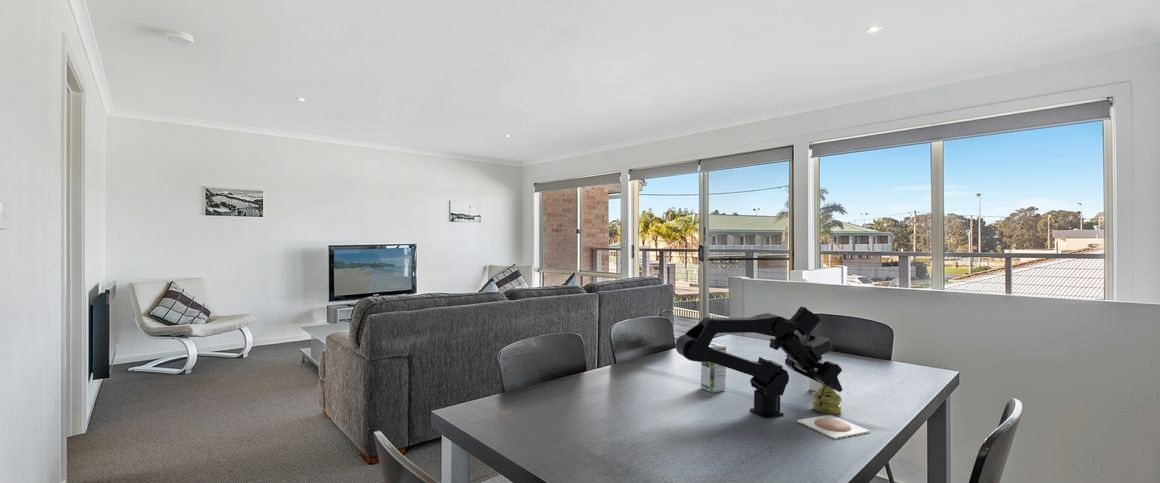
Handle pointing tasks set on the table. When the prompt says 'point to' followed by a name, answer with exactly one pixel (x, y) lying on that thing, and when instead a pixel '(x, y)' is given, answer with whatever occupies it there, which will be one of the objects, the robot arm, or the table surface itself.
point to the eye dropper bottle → (815, 382)
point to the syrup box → (713, 373)
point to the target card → (833, 426)
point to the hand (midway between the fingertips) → (830, 385)
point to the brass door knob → (826, 400)
